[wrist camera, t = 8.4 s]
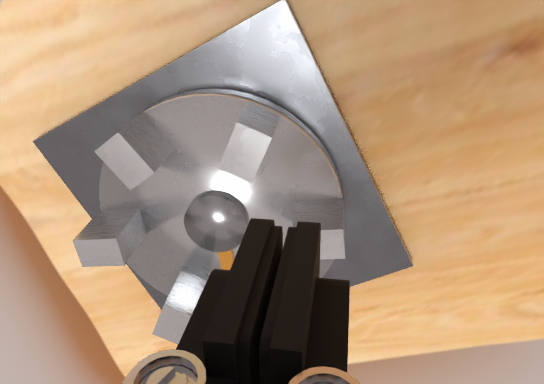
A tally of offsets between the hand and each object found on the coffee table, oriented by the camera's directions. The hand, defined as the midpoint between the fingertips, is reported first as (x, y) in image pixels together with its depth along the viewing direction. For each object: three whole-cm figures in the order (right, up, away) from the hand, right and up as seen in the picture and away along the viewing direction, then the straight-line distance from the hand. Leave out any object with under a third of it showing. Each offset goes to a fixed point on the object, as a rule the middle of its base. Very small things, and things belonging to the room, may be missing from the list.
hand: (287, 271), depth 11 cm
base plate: (-4, +1, +29) cm, 30 cm away
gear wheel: (-4, +1, +28) cm, 28 cm away
